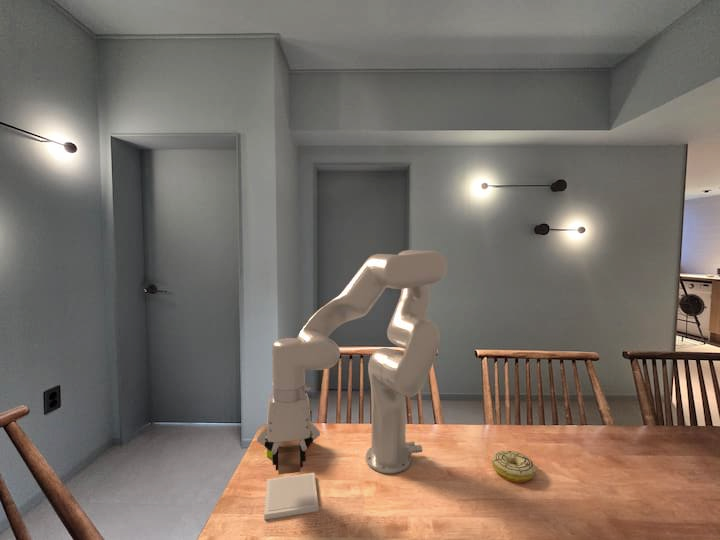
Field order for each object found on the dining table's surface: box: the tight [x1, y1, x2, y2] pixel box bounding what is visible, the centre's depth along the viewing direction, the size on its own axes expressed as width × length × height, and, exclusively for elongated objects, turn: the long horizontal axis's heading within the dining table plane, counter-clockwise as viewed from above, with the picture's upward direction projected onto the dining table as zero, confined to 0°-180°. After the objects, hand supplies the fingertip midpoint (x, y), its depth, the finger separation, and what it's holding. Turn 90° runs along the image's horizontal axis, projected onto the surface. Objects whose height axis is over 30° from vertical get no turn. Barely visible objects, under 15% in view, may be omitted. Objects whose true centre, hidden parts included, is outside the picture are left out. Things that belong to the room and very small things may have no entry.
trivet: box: [263, 472, 320, 520], centre depth 86 cm, size 12×12×1 cm
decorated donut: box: [491, 450, 537, 484], centre depth 95 cm, size 10×11×4 cm
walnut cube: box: [277, 440, 301, 476], centre depth 85 cm, size 5×5×5 cm
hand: (289, 464), depth 85 cm, fingers closed on walnut cube, 5 cm apart
